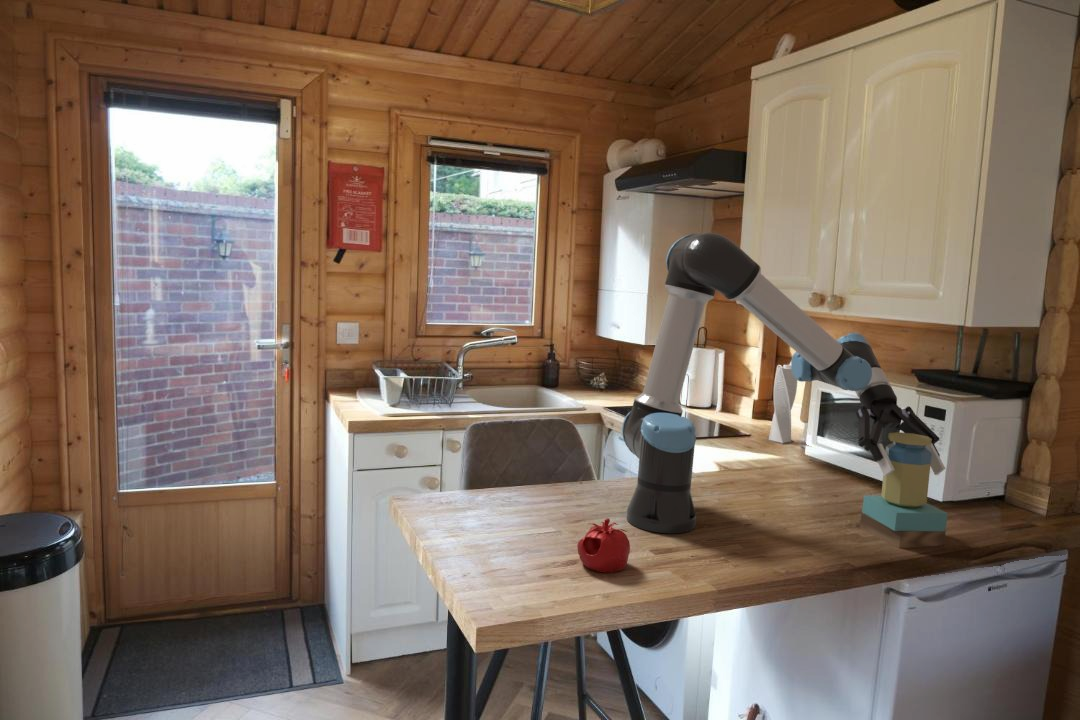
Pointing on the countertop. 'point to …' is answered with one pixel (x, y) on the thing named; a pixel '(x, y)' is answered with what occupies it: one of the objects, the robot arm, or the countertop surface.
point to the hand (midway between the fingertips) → (915, 472)
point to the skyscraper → (783, 405)
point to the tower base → (901, 534)
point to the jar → (907, 470)
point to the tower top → (904, 515)
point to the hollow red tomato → (604, 548)
